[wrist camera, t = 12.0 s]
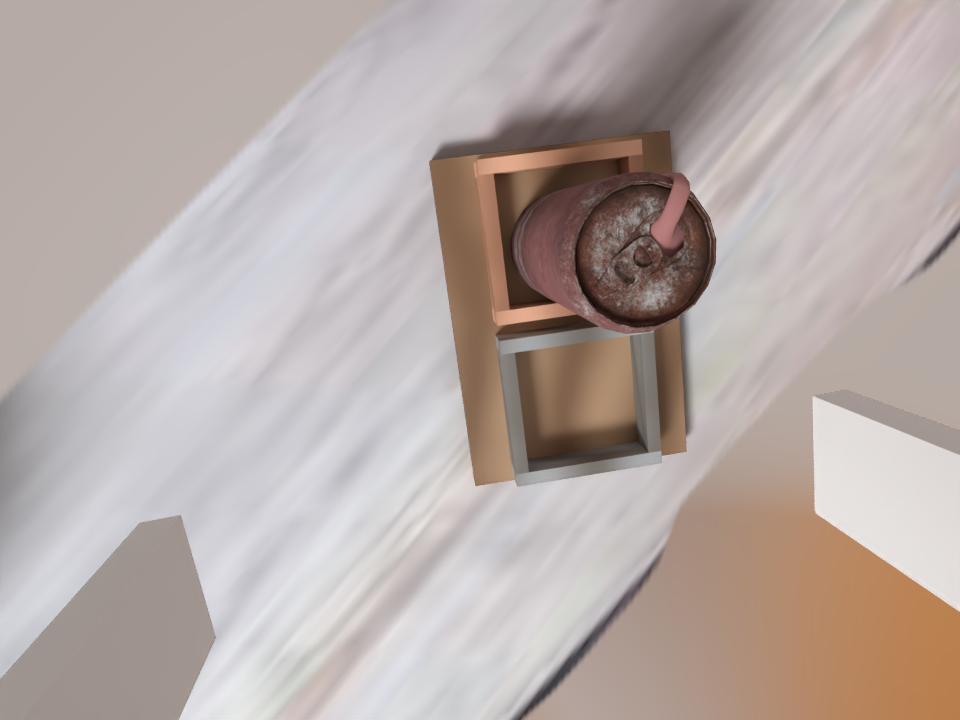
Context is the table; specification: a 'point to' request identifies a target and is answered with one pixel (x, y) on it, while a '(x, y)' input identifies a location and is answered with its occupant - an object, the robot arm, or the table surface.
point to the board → (549, 328)
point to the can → (618, 249)
